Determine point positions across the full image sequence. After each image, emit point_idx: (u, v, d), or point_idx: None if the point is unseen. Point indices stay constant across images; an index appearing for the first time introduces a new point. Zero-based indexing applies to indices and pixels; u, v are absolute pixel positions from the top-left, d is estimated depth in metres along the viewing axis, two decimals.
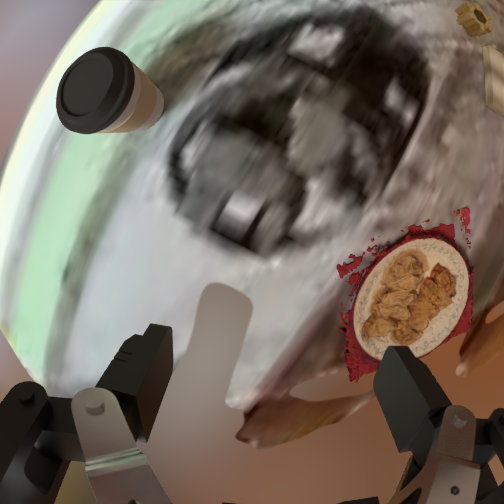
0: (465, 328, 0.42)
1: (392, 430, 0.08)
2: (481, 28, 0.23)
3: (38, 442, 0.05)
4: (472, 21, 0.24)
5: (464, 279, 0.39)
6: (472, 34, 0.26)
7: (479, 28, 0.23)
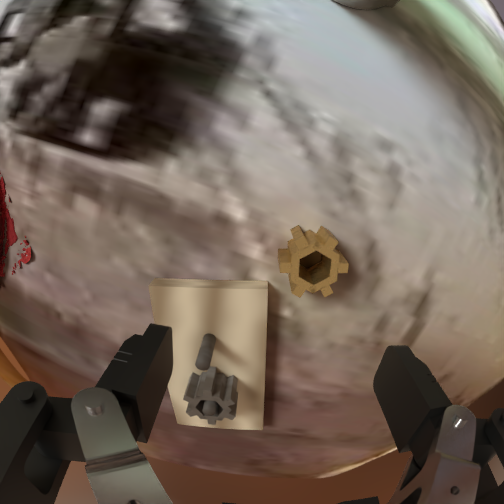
0: None
1: (392, 430, 0.08)
2: (282, 265, 0.25)
3: (38, 442, 0.05)
4: (295, 248, 0.26)
5: None
6: (278, 256, 0.28)
7: (281, 261, 0.25)
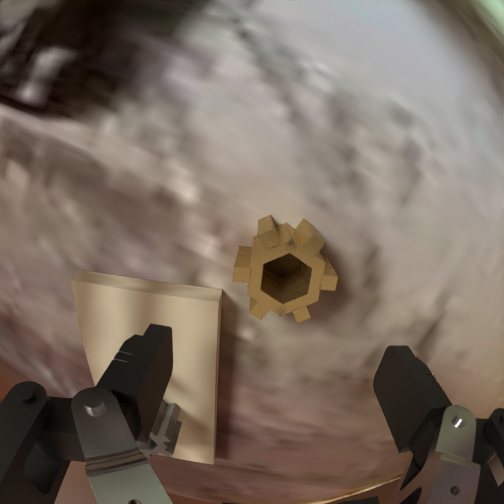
0: None
1: (392, 430, 0.08)
2: (236, 270, 0.17)
3: (38, 442, 0.05)
4: (258, 247, 0.17)
5: None
6: None
7: (236, 265, 0.17)
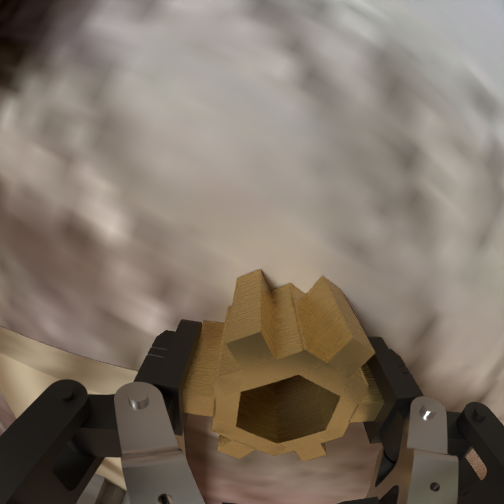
0: None
1: None
2: (186, 397, 0.07)
3: (72, 440, 0.05)
4: None
5: None
6: None
7: (187, 384, 0.08)
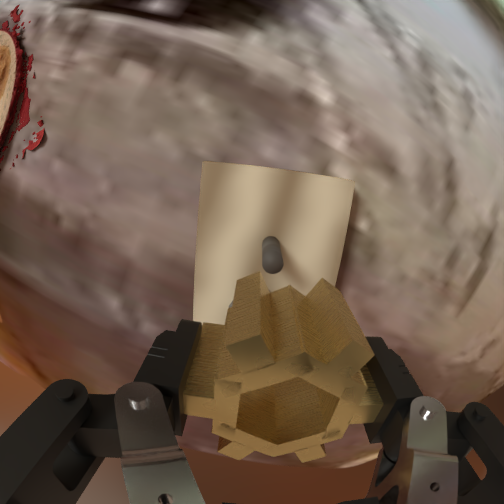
0: None
1: None
2: (186, 399, 0.07)
3: (72, 440, 0.05)
4: None
5: None
6: None
7: (187, 386, 0.08)
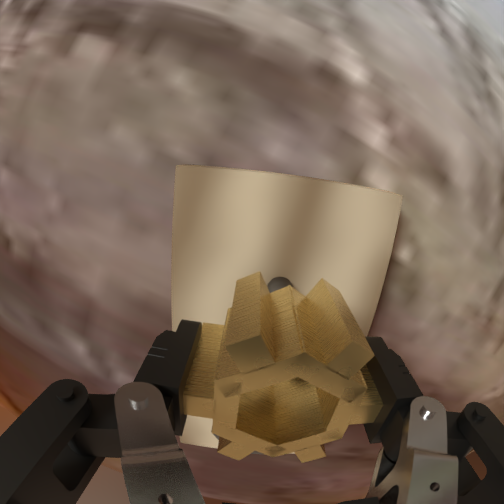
0: None
1: None
2: (186, 399, 0.07)
3: (72, 440, 0.05)
4: None
5: None
6: None
7: (187, 386, 0.08)
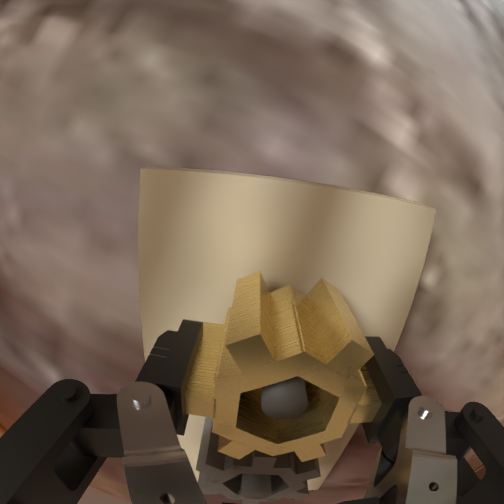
0: None
1: None
2: (187, 398, 0.07)
3: (73, 439, 0.05)
4: None
5: None
6: None
7: (188, 386, 0.08)
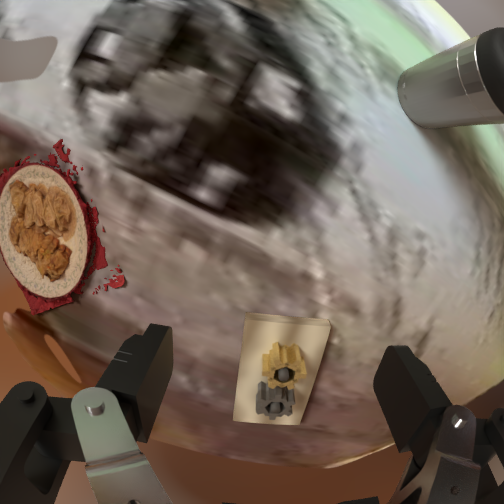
0: (32, 307, 0.42)
1: (392, 430, 0.08)
2: (263, 372, 0.37)
3: (38, 442, 0.05)
4: (273, 362, 0.38)
5: (63, 289, 0.39)
6: (262, 360, 0.40)
7: (263, 369, 0.37)
